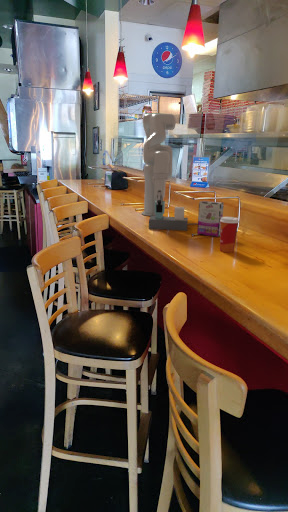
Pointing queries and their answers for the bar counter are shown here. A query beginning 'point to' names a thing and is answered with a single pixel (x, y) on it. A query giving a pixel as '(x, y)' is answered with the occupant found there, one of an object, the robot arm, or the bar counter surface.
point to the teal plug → (158, 215)
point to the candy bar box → (210, 218)
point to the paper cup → (228, 234)
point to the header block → (170, 221)
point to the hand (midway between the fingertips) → (159, 211)
